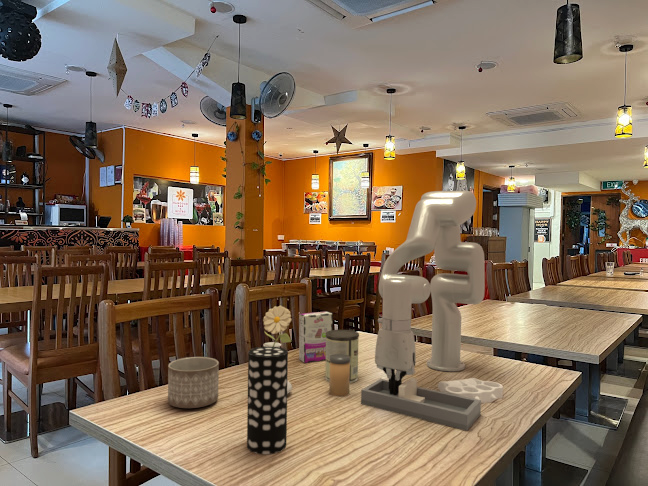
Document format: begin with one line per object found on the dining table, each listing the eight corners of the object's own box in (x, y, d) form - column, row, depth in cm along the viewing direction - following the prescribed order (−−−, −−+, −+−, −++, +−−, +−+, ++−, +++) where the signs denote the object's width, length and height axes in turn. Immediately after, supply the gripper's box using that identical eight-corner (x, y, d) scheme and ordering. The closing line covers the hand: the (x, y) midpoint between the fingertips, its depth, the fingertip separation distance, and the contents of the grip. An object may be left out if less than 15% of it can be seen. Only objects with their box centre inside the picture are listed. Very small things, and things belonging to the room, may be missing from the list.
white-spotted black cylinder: (248, 436, 103) (249, 346, 102) (286, 435, 103) (287, 346, 103) (245, 454, 94) (246, 357, 94) (286, 454, 95) (288, 357, 94)
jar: (336, 387, 135) (336, 352, 135) (353, 391, 132) (354, 356, 132) (325, 393, 130) (325, 357, 130) (342, 397, 127) (343, 360, 127)
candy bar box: (326, 356, 168) (326, 311, 168) (332, 359, 164) (333, 313, 163) (297, 359, 163) (298, 313, 163) (303, 363, 159) (304, 315, 158)
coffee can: (326, 372, 149) (327, 328, 149) (358, 374, 148) (359, 330, 148) (323, 383, 139) (323, 336, 138) (357, 384, 138) (358, 337, 137)
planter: (167, 397, 125) (167, 358, 125) (215, 392, 130) (215, 355, 129) (168, 415, 114) (168, 372, 113) (221, 409, 118) (221, 368, 118)
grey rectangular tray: (380, 391, 133) (380, 378, 132) (480, 414, 117) (480, 400, 117) (360, 403, 123) (361, 389, 123) (467, 430, 108) (467, 414, 108)
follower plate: (411, 395, 126) (411, 377, 126) (427, 399, 123) (427, 380, 123) (398, 405, 119) (398, 386, 119) (414, 409, 116) (415, 389, 116)
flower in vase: (242, 393, 129) (243, 303, 128) (273, 383, 137) (274, 299, 137) (273, 406, 120) (274, 310, 119) (304, 395, 128) (306, 305, 128)
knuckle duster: (478, 385, 141) (514, 402, 127) (428, 391, 134) (460, 410, 121) (479, 374, 141) (515, 390, 127) (428, 380, 134) (460, 397, 121)
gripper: (364, 323, 124) (363, 391, 125) (417, 331, 116) (415, 403, 117) (377, 319, 130) (376, 383, 131) (428, 326, 122) (426, 395, 123)
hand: (394, 393), depth 124 cm, fingers closed
